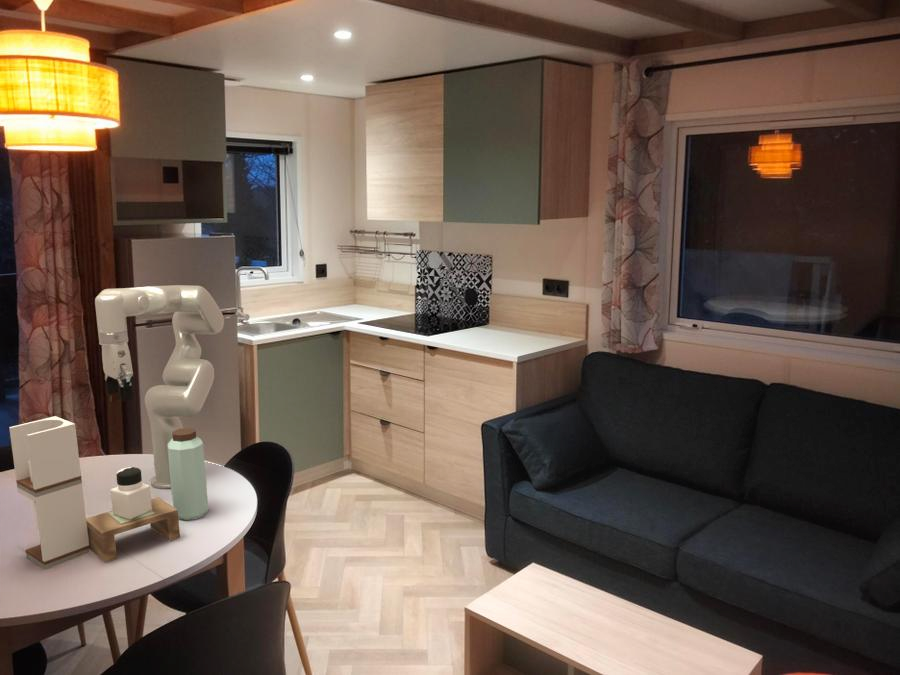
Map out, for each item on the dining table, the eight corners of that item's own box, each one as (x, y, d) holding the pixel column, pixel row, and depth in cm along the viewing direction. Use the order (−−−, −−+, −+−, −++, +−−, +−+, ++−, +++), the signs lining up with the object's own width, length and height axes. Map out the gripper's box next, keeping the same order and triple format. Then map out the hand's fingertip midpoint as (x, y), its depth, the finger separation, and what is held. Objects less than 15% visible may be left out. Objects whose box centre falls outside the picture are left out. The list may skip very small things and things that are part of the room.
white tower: (70, 541, 214) (55, 416, 207) (89, 552, 207) (75, 423, 200) (26, 557, 205) (9, 427, 198) (45, 569, 199) (28, 435, 192)
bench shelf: (161, 523, 224) (158, 496, 222) (180, 537, 215) (177, 508, 214) (87, 547, 210) (84, 517, 209) (104, 562, 202) (101, 532, 200)
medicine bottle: (152, 510, 213) (148, 467, 210) (130, 520, 207) (125, 476, 204) (135, 504, 216) (130, 463, 214) (112, 514, 210) (107, 471, 208)
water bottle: (216, 513, 230) (209, 430, 225) (184, 524, 223) (176, 439, 218) (198, 504, 237) (191, 423, 232) (166, 514, 230) (158, 432, 224)
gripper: (139, 340, 220) (145, 399, 223) (114, 331, 232) (120, 388, 235) (111, 344, 215) (118, 405, 218) (88, 335, 227) (94, 393, 230)
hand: (119, 396), depth 227 cm, fingers open, 9 cm apart
